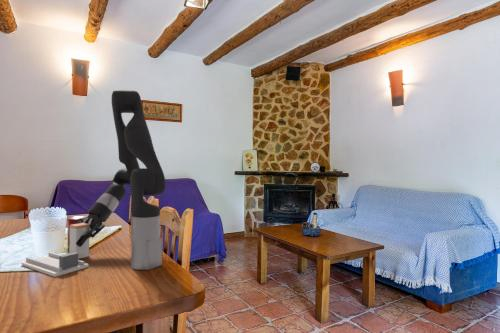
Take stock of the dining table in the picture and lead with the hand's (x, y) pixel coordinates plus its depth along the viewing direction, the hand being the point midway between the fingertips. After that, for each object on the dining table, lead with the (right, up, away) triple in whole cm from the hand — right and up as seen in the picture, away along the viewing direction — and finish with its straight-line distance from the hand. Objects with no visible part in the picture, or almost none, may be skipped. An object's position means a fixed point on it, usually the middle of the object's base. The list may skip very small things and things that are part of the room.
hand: (74, 244), depth 117 cm
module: (+1, -5, +2) cm, 5 cm away
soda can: (-7, -5, +16) cm, 18 cm away
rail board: (-2, -5, -9) cm, 10 cm away
